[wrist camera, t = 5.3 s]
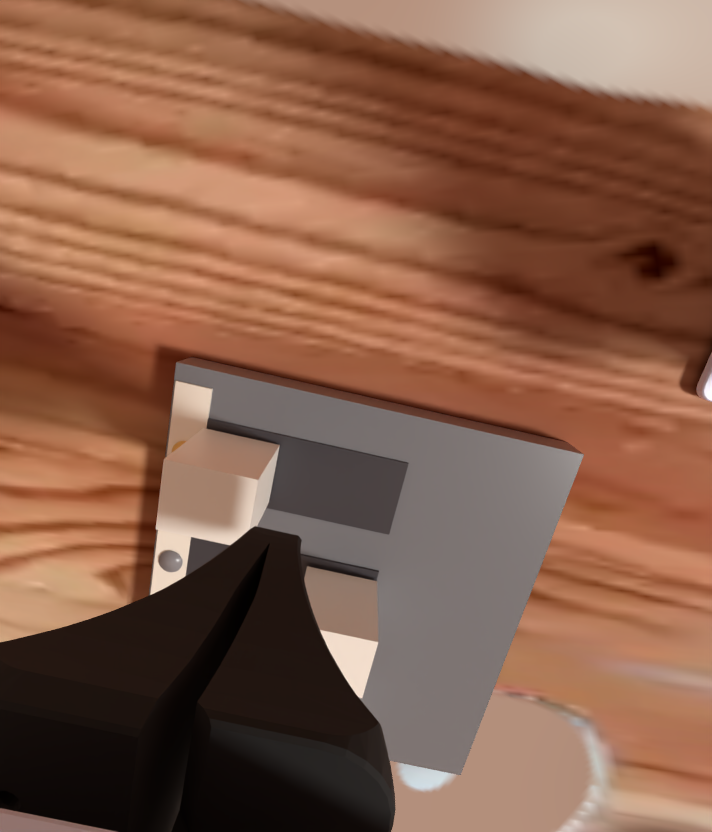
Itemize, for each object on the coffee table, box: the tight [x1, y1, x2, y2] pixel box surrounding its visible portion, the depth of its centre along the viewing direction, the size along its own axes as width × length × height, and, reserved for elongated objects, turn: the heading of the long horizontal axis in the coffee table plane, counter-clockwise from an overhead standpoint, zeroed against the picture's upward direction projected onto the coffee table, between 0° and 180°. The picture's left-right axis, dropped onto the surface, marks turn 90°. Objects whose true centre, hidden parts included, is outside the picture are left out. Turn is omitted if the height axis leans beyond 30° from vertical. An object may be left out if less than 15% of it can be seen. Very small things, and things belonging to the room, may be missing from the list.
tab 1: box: [156, 428, 280, 545], centre depth 16 cm, size 3×2×3 cm
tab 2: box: [304, 566, 378, 698], centre depth 17 cm, size 3×2×3 cm
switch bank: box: [149, 357, 584, 775], centre depth 20 cm, size 16×17×2 cm
